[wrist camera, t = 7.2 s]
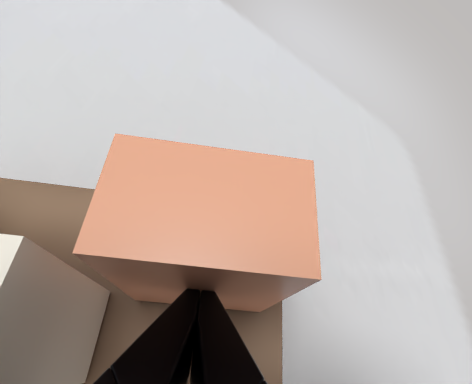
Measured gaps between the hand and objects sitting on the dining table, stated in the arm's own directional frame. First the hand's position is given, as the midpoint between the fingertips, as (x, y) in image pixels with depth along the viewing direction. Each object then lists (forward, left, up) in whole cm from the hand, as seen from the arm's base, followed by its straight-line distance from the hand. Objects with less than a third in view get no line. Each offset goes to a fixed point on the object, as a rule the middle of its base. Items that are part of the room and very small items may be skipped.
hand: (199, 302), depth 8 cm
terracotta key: (+2, -1, -3) cm, 4 cm away
